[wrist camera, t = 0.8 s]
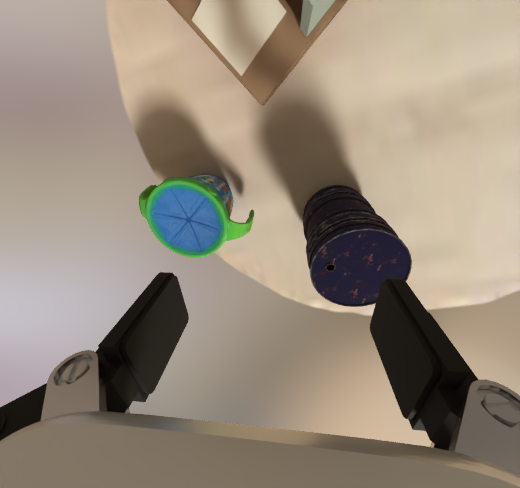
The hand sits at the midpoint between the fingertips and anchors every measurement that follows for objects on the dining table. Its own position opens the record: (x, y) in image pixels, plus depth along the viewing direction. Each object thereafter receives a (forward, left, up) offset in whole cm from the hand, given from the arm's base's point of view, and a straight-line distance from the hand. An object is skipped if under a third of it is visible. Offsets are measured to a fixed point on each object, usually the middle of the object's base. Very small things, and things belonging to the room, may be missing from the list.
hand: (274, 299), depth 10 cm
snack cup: (+11, -6, -27) cm, 29 cm away
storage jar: (-1, +10, -27) cm, 28 cm away
